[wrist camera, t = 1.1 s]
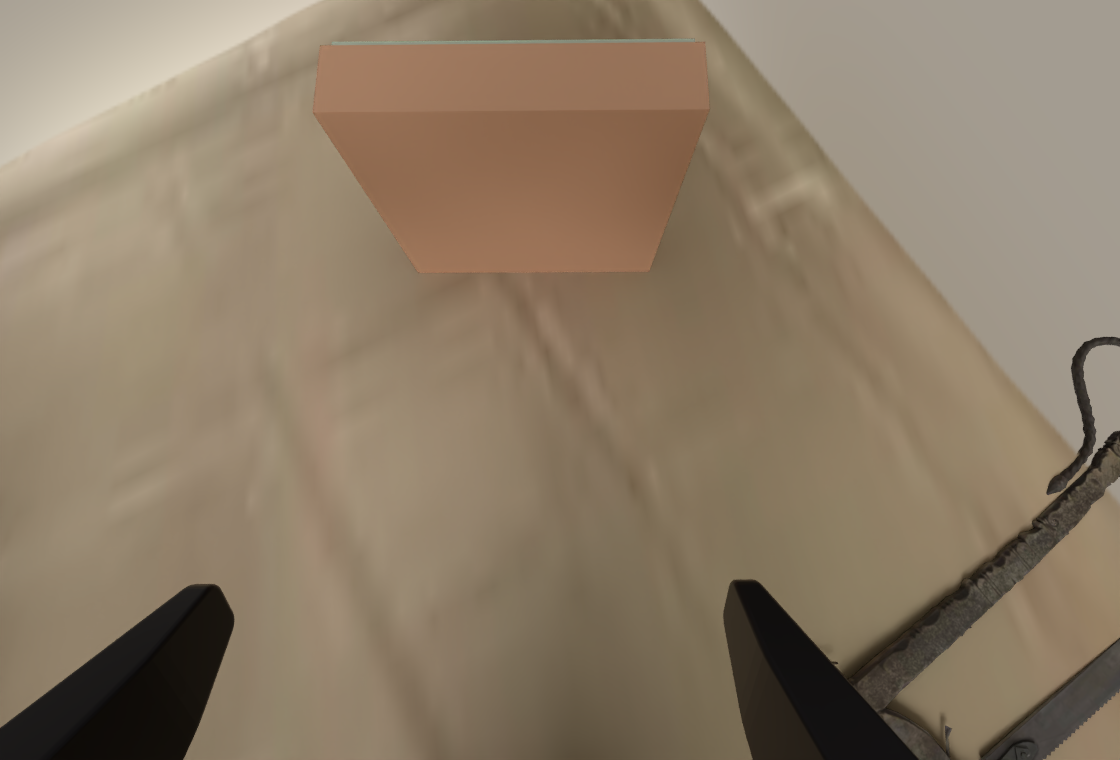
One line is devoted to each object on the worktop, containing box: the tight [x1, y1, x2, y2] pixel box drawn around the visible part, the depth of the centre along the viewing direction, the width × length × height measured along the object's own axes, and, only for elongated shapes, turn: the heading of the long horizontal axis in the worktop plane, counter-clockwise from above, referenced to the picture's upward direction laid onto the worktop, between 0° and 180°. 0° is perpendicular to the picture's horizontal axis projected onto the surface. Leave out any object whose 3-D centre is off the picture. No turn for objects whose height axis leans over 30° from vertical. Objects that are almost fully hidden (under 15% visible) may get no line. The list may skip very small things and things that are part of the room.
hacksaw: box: [832, 337, 1120, 760], centre depth 20 cm, size 24×10×2 cm, turn 124°
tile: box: [313, 39, 710, 273], centre depth 19 cm, size 2×10×10 cm, turn 90°
